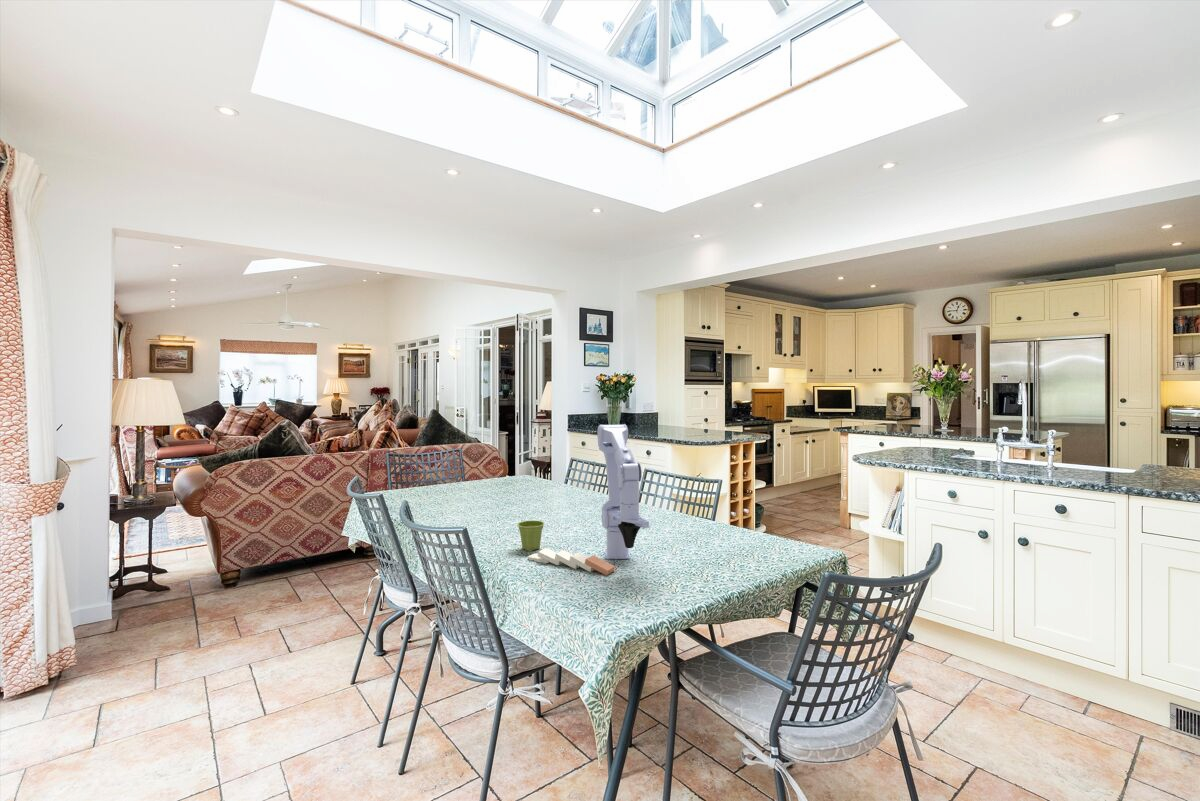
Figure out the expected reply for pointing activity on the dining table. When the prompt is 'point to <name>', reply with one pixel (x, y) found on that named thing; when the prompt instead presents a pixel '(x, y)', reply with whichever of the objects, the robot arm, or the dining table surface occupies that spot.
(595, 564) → the rust domino
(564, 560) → the ivory domino
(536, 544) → the plant pot
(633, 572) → the dining table surface
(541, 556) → the ivory domino
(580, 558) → the ivory domino
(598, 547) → the dining table surface
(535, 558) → the ivory domino
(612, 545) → the robot arm
